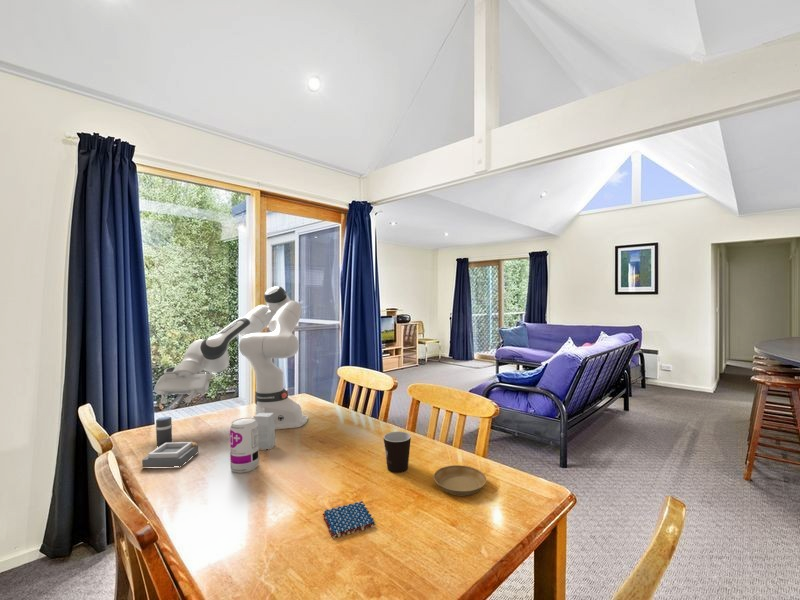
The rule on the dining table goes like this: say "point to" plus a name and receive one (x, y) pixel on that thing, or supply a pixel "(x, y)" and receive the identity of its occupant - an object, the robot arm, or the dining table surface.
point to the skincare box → (265, 430)
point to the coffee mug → (397, 451)
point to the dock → (170, 454)
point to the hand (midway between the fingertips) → (175, 402)
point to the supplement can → (244, 445)
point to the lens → (163, 430)
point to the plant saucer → (460, 479)
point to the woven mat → (348, 519)
